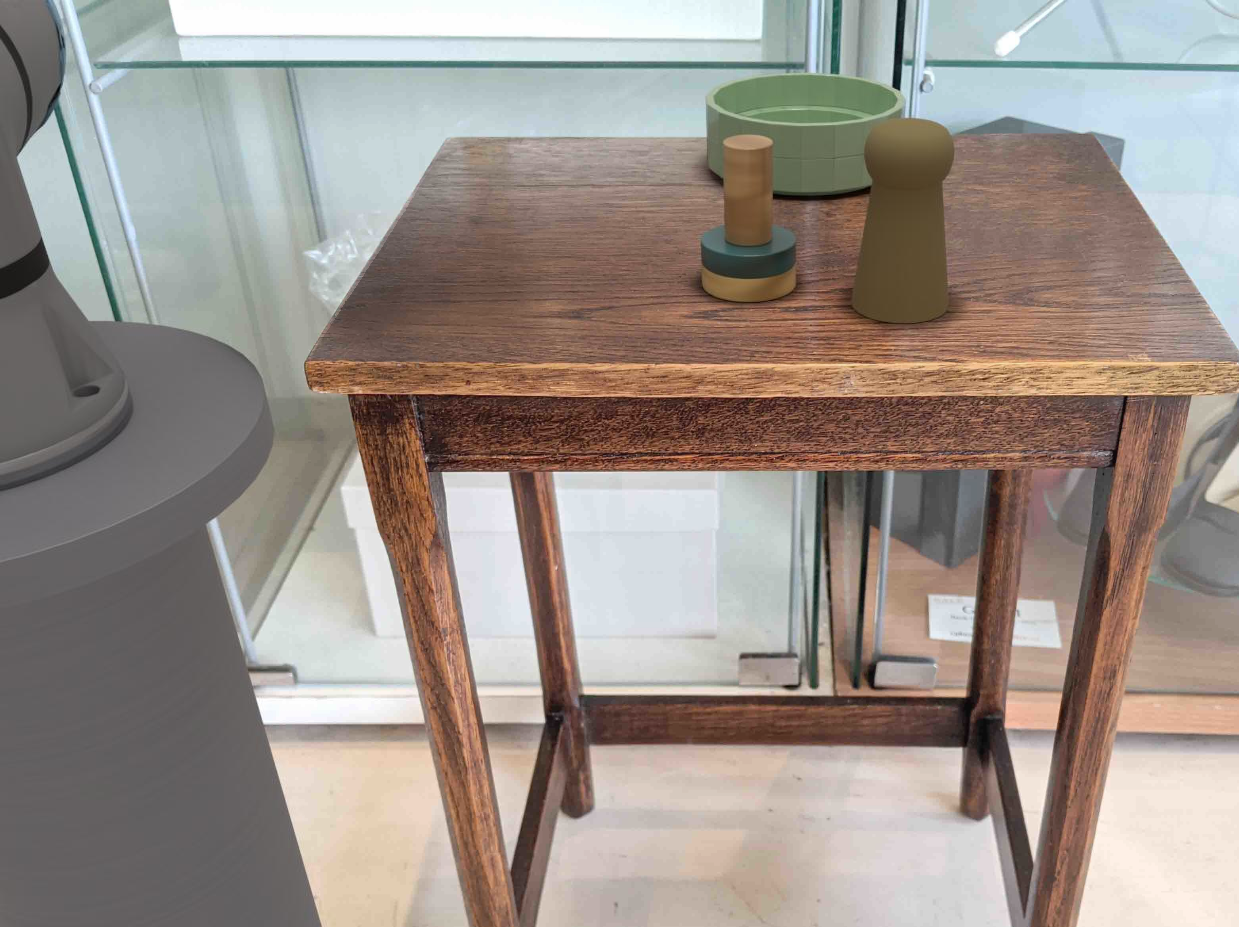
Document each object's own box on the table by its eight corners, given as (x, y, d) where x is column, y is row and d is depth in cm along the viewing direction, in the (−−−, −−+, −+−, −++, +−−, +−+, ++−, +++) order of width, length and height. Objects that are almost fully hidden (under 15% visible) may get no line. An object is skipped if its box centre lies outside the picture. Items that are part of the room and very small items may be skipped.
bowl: (798, 215, 94) (799, 137, 91) (669, 166, 103) (666, 94, 100) (940, 172, 102) (946, 100, 99) (808, 130, 112) (810, 63, 109)
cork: (864, 327, 78) (873, 140, 71) (840, 288, 83) (846, 111, 76) (961, 319, 79) (978, 134, 72) (932, 282, 84) (945, 105, 77)
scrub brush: (743, 310, 80) (742, 163, 75) (682, 282, 83) (677, 140, 78) (815, 285, 83) (818, 143, 78) (753, 259, 87) (753, 122, 82)
